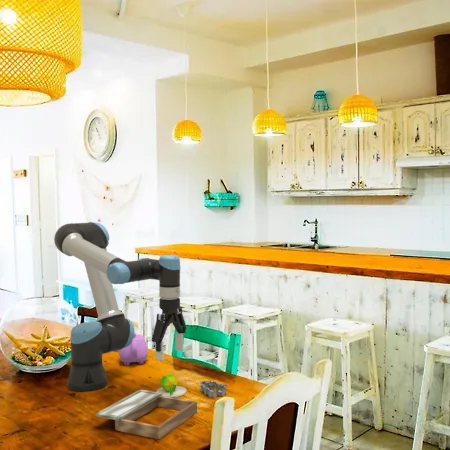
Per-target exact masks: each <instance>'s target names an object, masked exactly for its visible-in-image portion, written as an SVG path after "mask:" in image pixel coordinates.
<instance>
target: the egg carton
mask: <svg viewBox="0 0 450 450" xmlns="http://www.w3.org/2000/svg"><path fill="white" fill-rule="evenodd" d="M198 381H199V385H200V389H199V390H200V392H202V393H204V395H205V394H206V395H208V398H214V399H215V398H217V397H218V396H220V397H225V396H226V395H227V387H228V385H227V383H221V382H217V381H216V380H212V381H211V380H210V379H209V380H203V381H201V380H198ZM215 389H216V391H215Z"/></svg>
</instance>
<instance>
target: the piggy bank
mask: <svg viewBox="0 0 450 450" xmlns="http://www.w3.org/2000/svg"><path fill="white" fill-rule="evenodd" d="M146 341H147V340H146V339H145V336H144V335H143V334H137V333H136V332H135V334H134V339H133V341H132V343H131V344H130V345H129V346H128V347H125V348H123V349H121V350H119V352H118V353H119V355H118V356H119V358H120V360H121V362H123V363H124V366H130V364H131V363H137V364H139V365H144V364H145V361H147V358H148V356H149V355H148V354H149V352H148V346H147V345H148V344H147V342H146Z"/></svg>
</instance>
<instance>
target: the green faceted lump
mask: <svg viewBox="0 0 450 450" xmlns="http://www.w3.org/2000/svg"><path fill="white" fill-rule="evenodd" d="M160 385H161V387H163V389H164V391H165V392H166V391H170V395H171V394H172V393H173V392H174V391H175V388H176V386H178V380H177V378H176V376H174V374H173V373H172V374H166V375H163V376H162V378H161V379H160Z"/></svg>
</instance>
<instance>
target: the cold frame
mask: <svg viewBox="0 0 450 450" xmlns="http://www.w3.org/2000/svg"><path fill="white" fill-rule="evenodd" d="M157 407H158V408H163V409H171V410H176V411H178V412H176V413H175V414H173V415H172V416H171V417H169V418H167V419H165V420H164V421H163V422H162V423H160V424H158V425H154V424H150V423H144V422H141V421H140V422H139V421H136V420H138V419H140V418H141V417H142V416H144V415H146V414H148V413H149V412H151V411H152V410H153V409H155V408H157ZM196 413H198V402H197V401H194V400H188V399H182V398H177V397H172V398H171V397H165V396H162V393H159V392H156V391H151V390H147V389H138V390H136V391H135V392H133V393H131V394H129V395H127V396H126V397H123V398H122V399H120V400H118V401H116V402H114V403H112V404H111V405H109V406H107V407H105V408H103V409H101V410H99V411H98V412H96V413H95V417H99V418H103V419H108V420H109V419H110V420H114V430H115V431H118V432H122V433H126V434H131V435H136V436H141V437H146V438H151V439H155V440H161V439H163V438H164V437H165V436H167V434H169V433H171V432H172V431H173V430H175V429H176V428H178V427H179V426H180V425H181V424H183V423H184V422H186V421H187V420H189V419H190V418H191V417H193V416H194V415H195V414H196Z"/></svg>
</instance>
